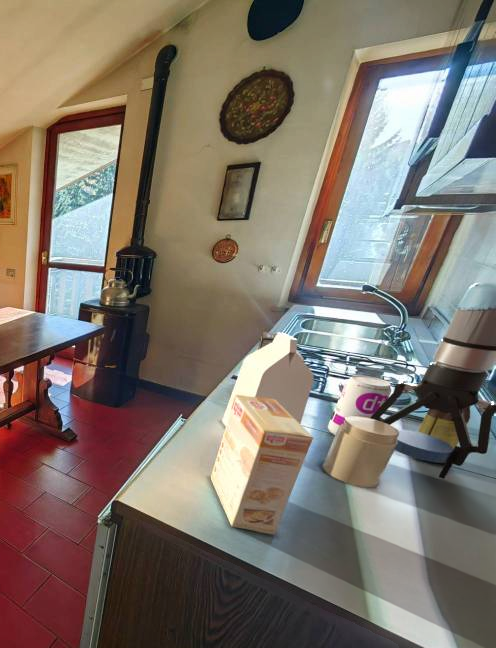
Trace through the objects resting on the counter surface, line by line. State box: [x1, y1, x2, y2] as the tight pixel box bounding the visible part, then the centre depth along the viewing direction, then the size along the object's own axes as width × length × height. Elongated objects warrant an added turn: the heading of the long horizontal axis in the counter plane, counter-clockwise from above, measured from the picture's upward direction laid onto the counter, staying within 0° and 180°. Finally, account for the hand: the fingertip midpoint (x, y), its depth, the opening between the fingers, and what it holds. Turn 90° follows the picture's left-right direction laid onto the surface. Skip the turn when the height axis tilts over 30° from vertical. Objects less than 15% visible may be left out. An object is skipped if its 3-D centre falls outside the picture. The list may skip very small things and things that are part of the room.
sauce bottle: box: [417, 406, 471, 464], centre depth 87 cm, size 6×6×20 cm
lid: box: [394, 428, 454, 463], centre depth 81 cm, size 10×10×2 cm
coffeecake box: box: [210, 395, 314, 536], centre depth 70 cm, size 15×7×20 cm, turn 164°
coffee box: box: [257, 331, 277, 350], centre depth 129 cm, size 9×6×16 cm
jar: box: [322, 416, 399, 488], centre depth 81 cm, size 9×9×12 cm
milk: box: [221, 332, 315, 427], centre depth 94 cm, size 12×12×26 cm
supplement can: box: [327, 374, 392, 436], centre depth 97 cm, size 8×8×15 cm
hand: (407, 464), depth 83 cm, fingers closed on lid, 9 cm apart
